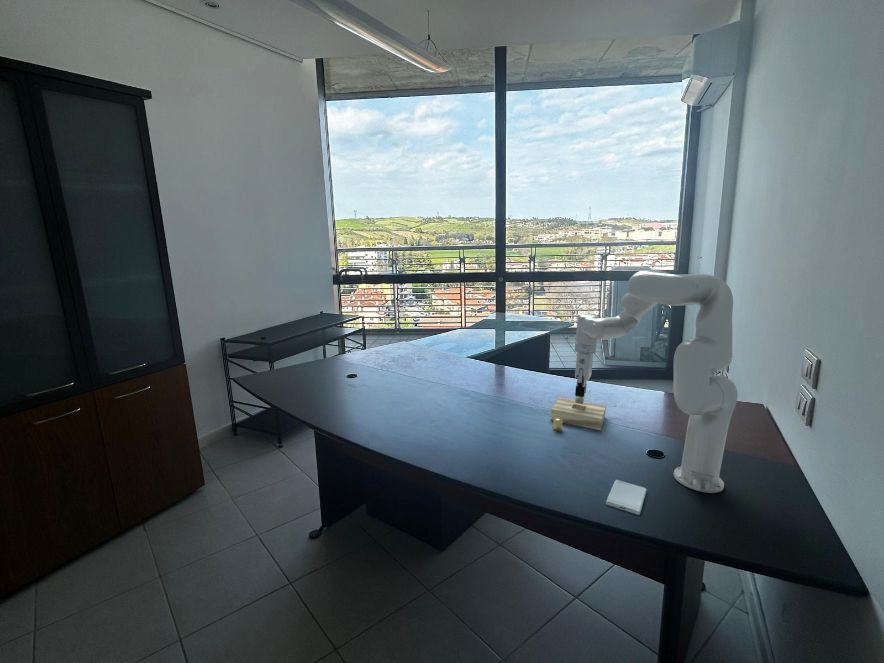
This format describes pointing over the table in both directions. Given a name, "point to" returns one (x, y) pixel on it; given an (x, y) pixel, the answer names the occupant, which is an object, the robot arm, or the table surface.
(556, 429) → the short brass pin
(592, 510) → the table surface
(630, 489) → the hard drive
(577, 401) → the tall steel pin
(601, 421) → the block
